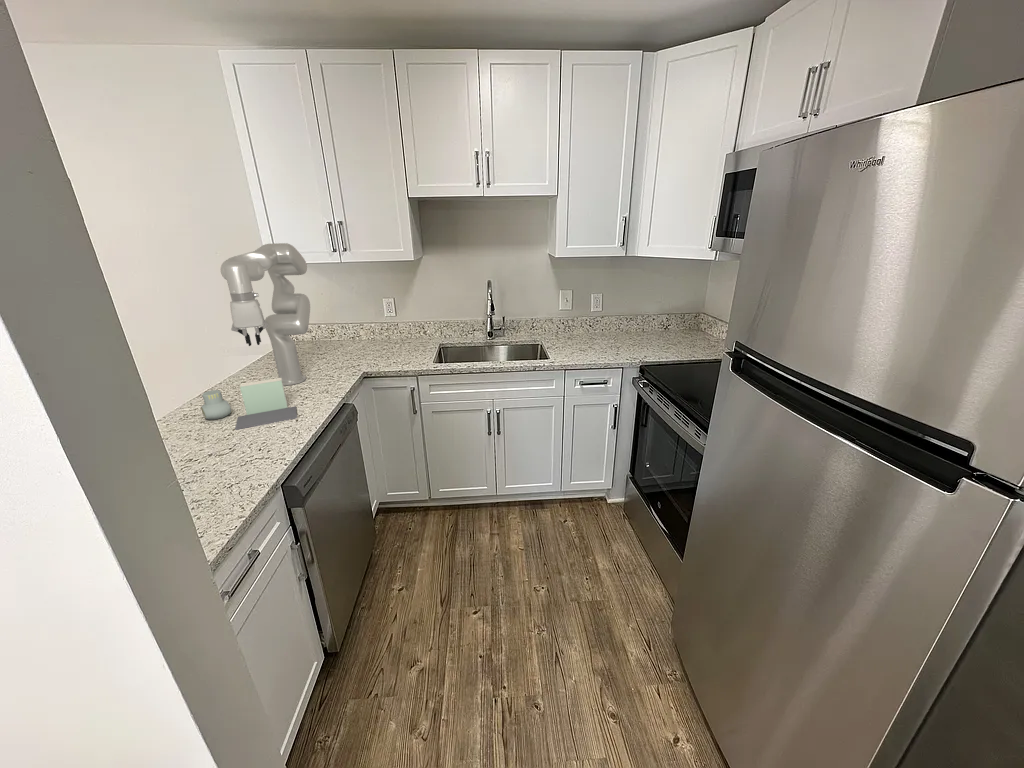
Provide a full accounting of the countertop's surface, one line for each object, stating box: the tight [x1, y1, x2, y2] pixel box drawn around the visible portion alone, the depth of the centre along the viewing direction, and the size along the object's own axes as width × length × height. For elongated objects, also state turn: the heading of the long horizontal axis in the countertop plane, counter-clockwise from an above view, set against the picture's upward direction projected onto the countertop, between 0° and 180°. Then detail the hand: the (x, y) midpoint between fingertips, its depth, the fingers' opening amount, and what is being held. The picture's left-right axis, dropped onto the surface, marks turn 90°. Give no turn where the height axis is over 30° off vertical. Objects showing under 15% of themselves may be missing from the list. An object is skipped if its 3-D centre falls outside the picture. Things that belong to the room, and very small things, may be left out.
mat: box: [234, 405, 298, 431], centre depth 160 cm, size 12×20×1 cm, turn 117°
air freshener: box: [200, 389, 232, 421], centre depth 161 cm, size 11×8×10 cm
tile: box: [239, 377, 289, 415], centre depth 165 cm, size 4×14×12 cm, turn 117°
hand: (254, 344), depth 165 cm, fingers closed
